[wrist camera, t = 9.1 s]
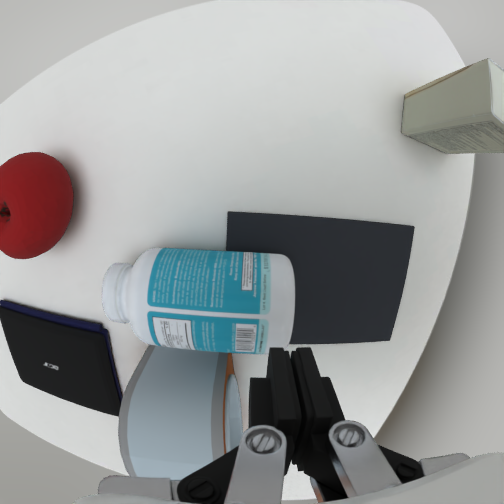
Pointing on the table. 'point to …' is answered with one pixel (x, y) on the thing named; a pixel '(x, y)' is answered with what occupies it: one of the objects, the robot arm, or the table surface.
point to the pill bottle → (204, 299)
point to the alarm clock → (179, 412)
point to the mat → (333, 271)
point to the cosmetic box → (459, 111)
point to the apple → (33, 204)
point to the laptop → (62, 356)
